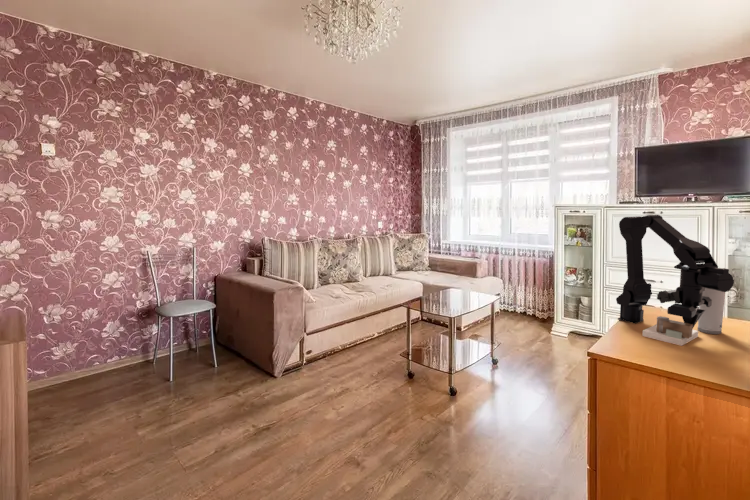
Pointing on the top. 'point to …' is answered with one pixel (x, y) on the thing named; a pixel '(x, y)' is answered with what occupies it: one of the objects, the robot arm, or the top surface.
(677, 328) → the grey knobbed lever
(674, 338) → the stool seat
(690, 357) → the top surface
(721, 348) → the top surface
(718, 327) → the travel mug
